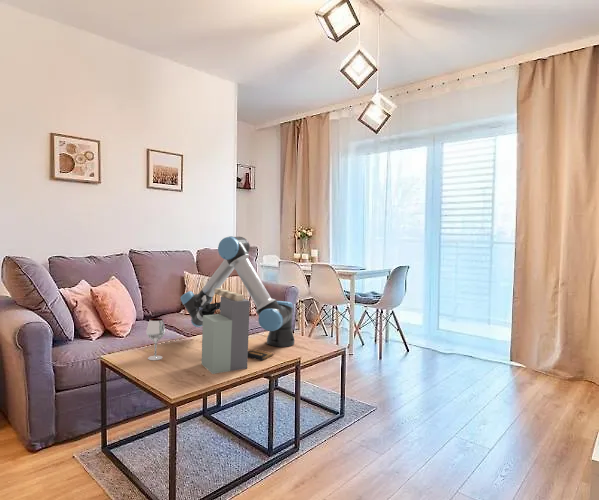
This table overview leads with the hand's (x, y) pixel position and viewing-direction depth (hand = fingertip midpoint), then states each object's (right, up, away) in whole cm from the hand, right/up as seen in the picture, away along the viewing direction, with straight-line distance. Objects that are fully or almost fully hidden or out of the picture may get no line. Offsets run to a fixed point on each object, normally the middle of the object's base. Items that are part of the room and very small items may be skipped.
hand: (219, 297), depth 195 cm
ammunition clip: (+17, -28, -4) cm, 33 cm away
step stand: (+5, -29, -16) cm, 33 cm away
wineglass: (-28, -27, -9) cm, 40 cm away
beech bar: (+6, +1, -11) cm, 13 cm away
